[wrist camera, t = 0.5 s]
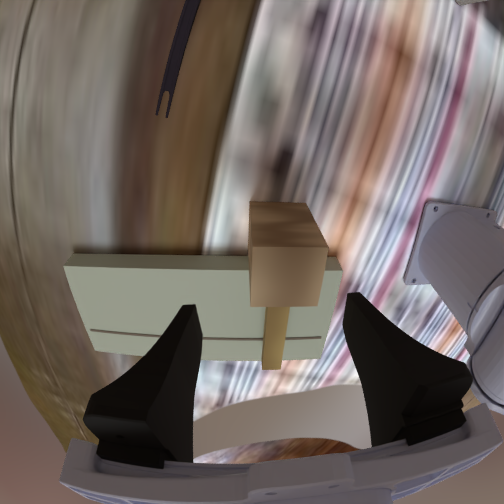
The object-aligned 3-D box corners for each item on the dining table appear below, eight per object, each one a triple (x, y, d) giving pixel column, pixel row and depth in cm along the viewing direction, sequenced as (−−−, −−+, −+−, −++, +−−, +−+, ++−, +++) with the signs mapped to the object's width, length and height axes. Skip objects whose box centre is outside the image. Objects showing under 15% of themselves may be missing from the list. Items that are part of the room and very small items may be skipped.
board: (336, 256, 23) (343, 271, 22) (316, 343, 28) (320, 359, 27) (73, 253, 23) (62, 266, 21) (101, 336, 28) (95, 351, 26)
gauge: (305, 203, 21) (328, 247, 16) (288, 330, 27) (298, 386, 22) (249, 201, 21) (252, 246, 15) (245, 331, 27) (247, 388, 22)
